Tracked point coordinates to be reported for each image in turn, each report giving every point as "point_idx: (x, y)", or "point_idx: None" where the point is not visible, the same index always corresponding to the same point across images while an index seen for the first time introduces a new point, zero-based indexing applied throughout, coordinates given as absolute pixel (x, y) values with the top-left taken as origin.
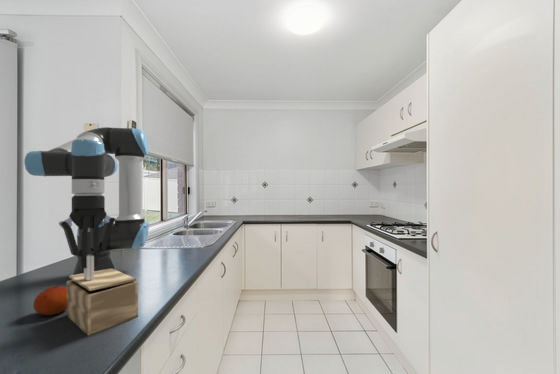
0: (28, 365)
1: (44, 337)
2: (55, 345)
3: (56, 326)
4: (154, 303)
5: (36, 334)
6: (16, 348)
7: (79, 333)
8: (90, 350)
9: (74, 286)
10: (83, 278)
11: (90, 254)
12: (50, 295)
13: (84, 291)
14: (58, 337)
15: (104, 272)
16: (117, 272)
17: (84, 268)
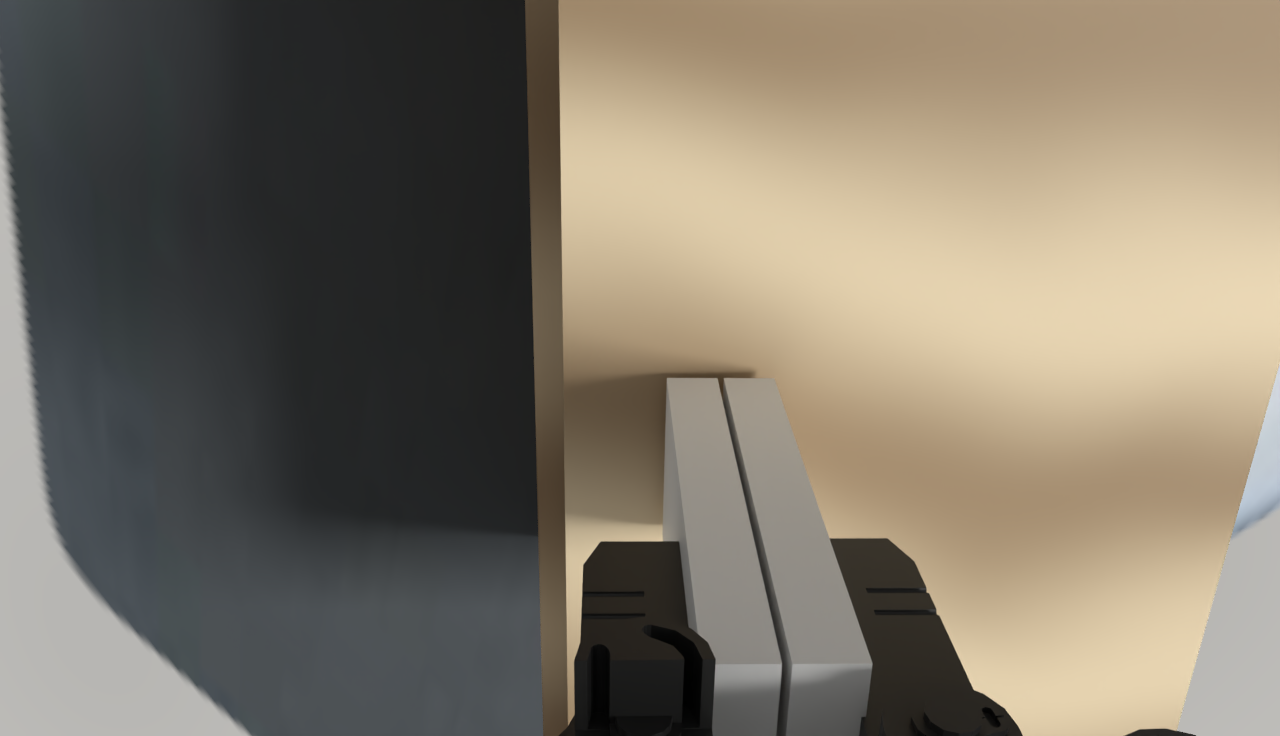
0: (179, 626)
1: (294, 262)
2: (347, 491)
3: (411, 85)
4: (1276, 380)
5: (240, 121)
6: (97, 288)
7: (529, 438)
8: None
9: (535, 302)
10: (683, 297)
11: (867, 670)
12: None
13: (565, 646)
14: (386, 367)
15: (1118, 129)
16: (1243, 316)
17: (678, 506)
